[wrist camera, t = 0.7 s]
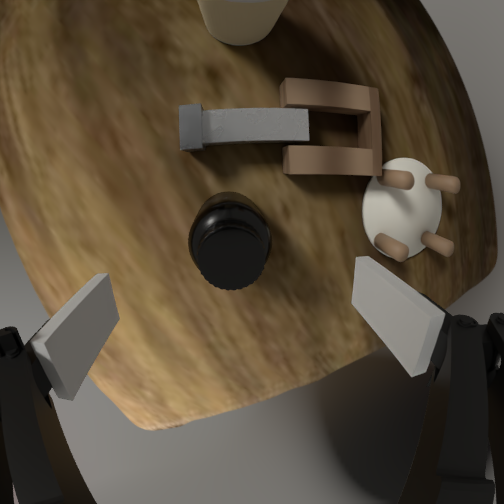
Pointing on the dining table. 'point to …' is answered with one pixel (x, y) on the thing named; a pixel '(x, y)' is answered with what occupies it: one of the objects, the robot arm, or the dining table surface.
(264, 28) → the coffee cup
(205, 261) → the supplement bottle
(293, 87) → the slot block
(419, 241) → the peg rack
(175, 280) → the dining table surface
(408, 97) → the dining table surface
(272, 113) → the pin
